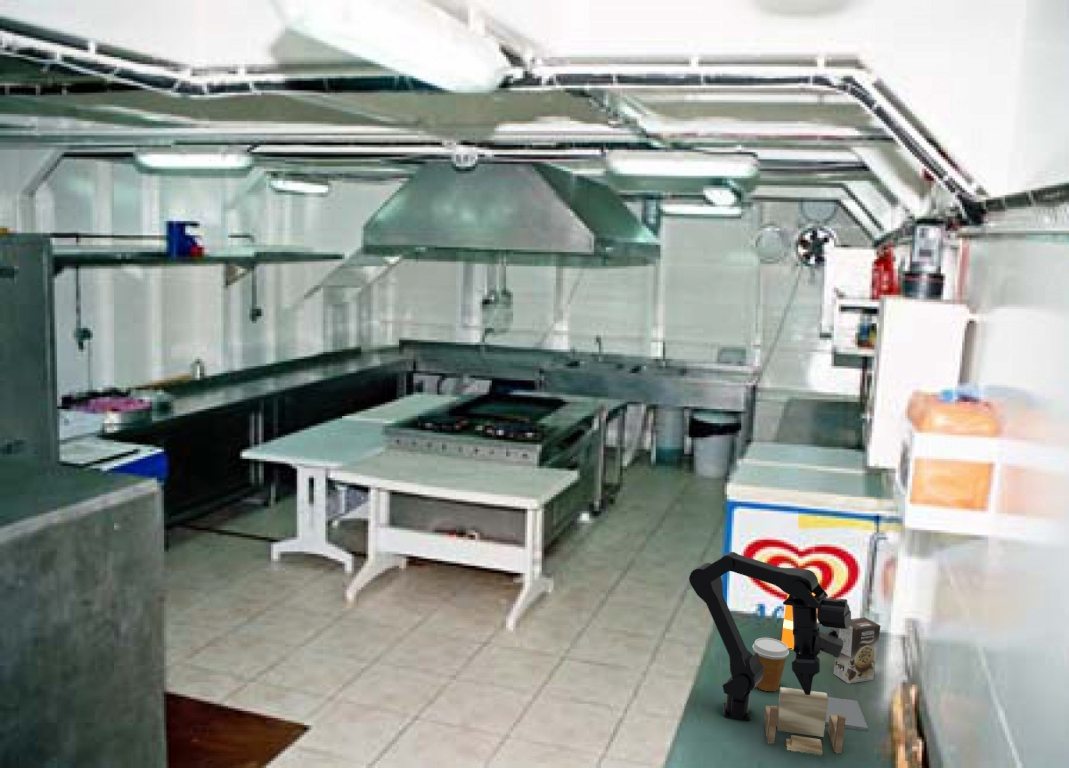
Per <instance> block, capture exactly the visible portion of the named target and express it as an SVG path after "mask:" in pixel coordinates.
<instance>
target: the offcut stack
mask: <svg viewBox="0 0 1069 768" xmlns="http://www.w3.org/2000/svg"><path fill="white" fill-rule="evenodd" d="M822 743H823V742H822V740H821V739H818V738H812V737H806V736H800V735H793V734H791V735H790V739H789V738H786V739H785V747H786V746H787V747H786V750H787V751H789V750H791V752H796V751H800V752H799V753H803V752H811V753H818V754H822V755H823V753H824V751H823V745H822ZM801 751H802V752H801Z"/></svg>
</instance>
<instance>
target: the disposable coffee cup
mask: <svg viewBox="0 0 1069 768" xmlns="http://www.w3.org/2000/svg"><path fill="white" fill-rule="evenodd" d="M752 650H753V654H755V653H758V655H759V659H760V662H761V663H762V665H763V666H764V668H763V672H764V675H763V678H762V680H761V681H760V682H759V683H758V684H757V685H756V686H755V688H757V687H758V688H759V689H758V688H757V689H758V690H760V689H761V690H760V691H762V690H765V691H764V692H766V691H775V692H777V691H778V690H779V689H780V684H781V679H782V677H783V671H784V669H785V668H784V667H785V665H786V662H787V657H789V653H790V651H789V650H790V649H789V648H788V647H787V645H786V644H785V643H784V642H782V640H779V639H777V638H771V637H760V638H756V639H755V641H754V643H753V644H752ZM776 690H777V691H776Z"/></svg>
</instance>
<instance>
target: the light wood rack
mask: <svg viewBox="0 0 1069 768" xmlns="http://www.w3.org/2000/svg"><path fill="white" fill-rule="evenodd" d="M777 714H778V705H765V709H764V717H763V726H764V725H765V727H764V732H765V731H766V733H765V737H766V736H767V738H766V743H767V742H769V743H774V744H775V739H776V738H775V737H776V732H777V731H776V730H777V727H776V723H777ZM845 721H846V718H845V715H839V714H838V719H837V716H836V715H831V714H830V719H829V726H828V729H827V733H828V737H829V739H830V743H831V746H832V748H833V752H836V753H835V754H838V753H841V754H842V750H843V744H844V743H843V741H844V735H845V729H846V728H845Z"/></svg>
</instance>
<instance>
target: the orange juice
mask: <svg viewBox="0 0 1069 768" xmlns="http://www.w3.org/2000/svg"><path fill="white" fill-rule="evenodd" d="M812 594H813V596H815V594H814V593H812ZM788 597H789V594H787V596H786V599H787V598H788ZM784 609H785V610H784V618H783V626H782V636H781V641H782V642H784V643H785V644H786V645H787V647H788V649H789V648H792V649H791V650H793V649H794V648H793V647H794V637H793V616H792V606H790V605H785V608H784ZM817 624H819V621H818V619H817Z"/></svg>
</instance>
